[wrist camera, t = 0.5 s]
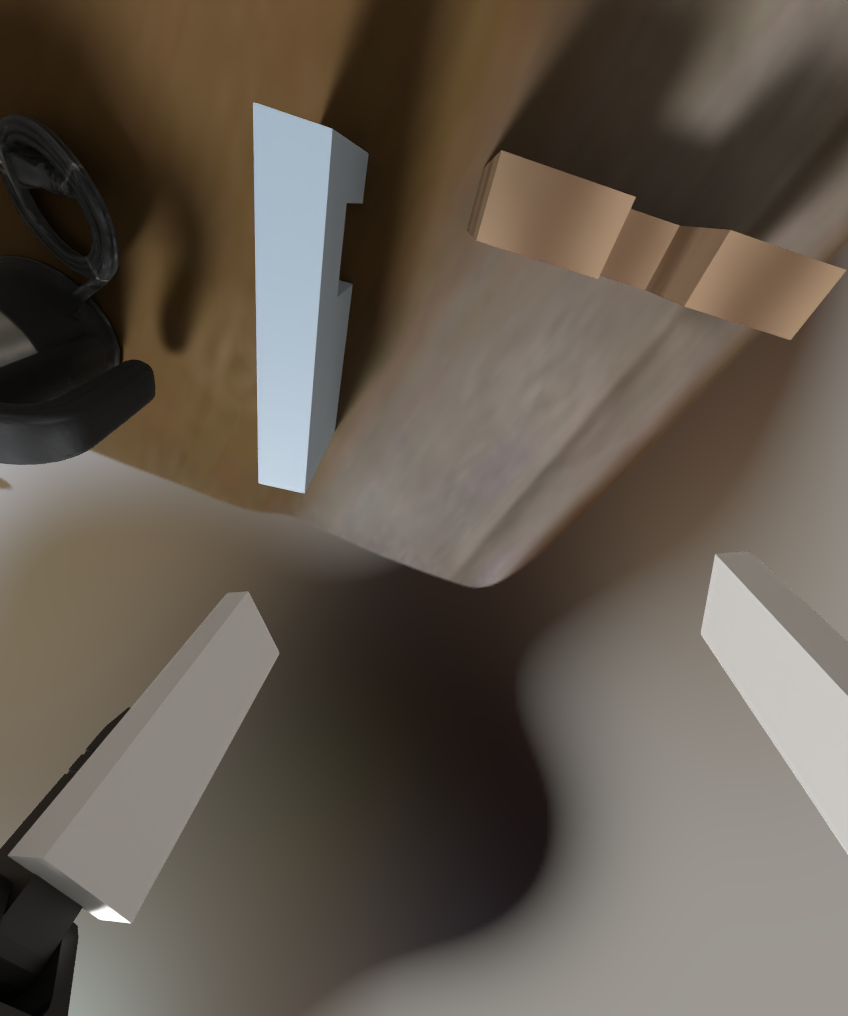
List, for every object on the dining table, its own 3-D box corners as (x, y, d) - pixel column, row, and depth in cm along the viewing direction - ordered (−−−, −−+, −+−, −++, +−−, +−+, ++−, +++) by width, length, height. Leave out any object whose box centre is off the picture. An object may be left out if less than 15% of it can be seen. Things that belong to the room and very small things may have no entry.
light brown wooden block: (466, 230, 24) (476, 240, 17) (483, 167, 22) (501, 149, 15) (695, 303, 26) (790, 340, 19) (728, 251, 24) (846, 270, 17)
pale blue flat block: (315, 136, 22) (252, 101, 15) (368, 153, 22) (332, 128, 15) (299, 422, 33) (258, 483, 25) (334, 431, 33) (304, 493, 26)
